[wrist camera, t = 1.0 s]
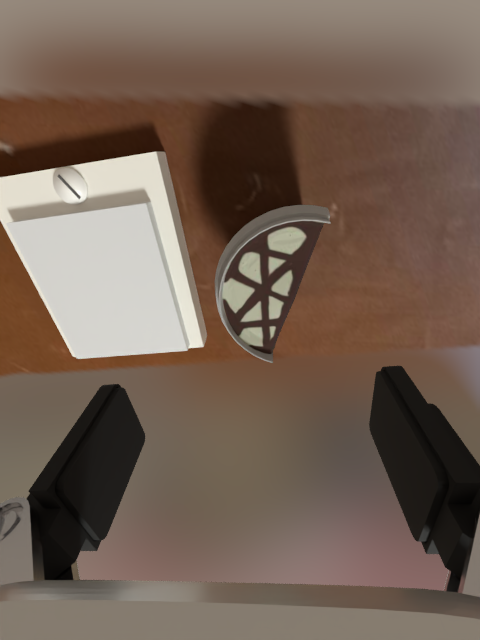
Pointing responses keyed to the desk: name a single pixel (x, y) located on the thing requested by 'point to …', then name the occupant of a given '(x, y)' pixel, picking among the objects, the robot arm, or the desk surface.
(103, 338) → the scale
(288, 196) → the desk surface
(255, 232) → the food container
